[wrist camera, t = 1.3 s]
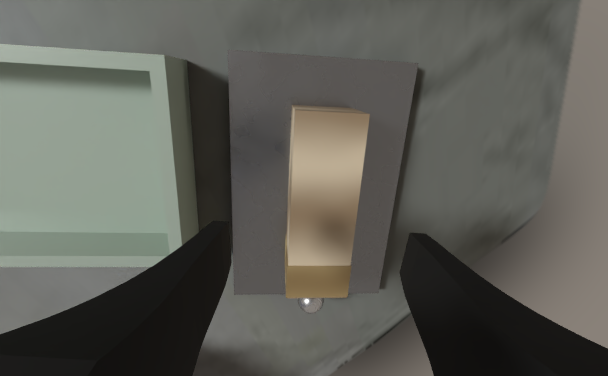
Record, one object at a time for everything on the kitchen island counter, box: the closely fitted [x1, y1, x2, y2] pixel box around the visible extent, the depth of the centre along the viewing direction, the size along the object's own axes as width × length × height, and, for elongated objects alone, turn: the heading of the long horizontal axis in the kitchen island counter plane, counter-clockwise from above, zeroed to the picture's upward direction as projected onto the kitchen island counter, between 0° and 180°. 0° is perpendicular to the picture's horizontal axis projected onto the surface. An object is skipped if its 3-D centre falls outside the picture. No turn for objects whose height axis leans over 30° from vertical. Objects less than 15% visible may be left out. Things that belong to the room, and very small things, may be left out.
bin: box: [0, 44, 199, 267], centre depth 18 cm, size 13×19×4 cm
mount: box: [228, 50, 418, 314], centre depth 21 cm, size 18×12×4 cm, turn 177°
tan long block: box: [285, 105, 370, 298], centre depth 19 cm, size 12×4×4 cm, turn 177°
